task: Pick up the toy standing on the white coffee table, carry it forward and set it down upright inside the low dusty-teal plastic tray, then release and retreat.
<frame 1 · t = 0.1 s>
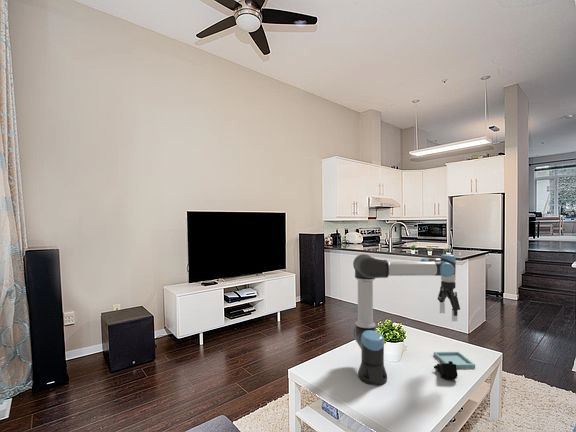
hand: (448, 316, 177), 28 cm above the table, fingers open, 13 cm apart
tray: (453, 361, 180), on the table
toy: (444, 374, 166), on the table
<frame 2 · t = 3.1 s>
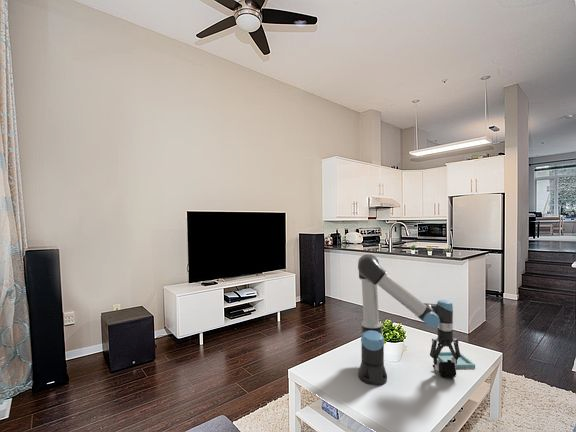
hand: (445, 369, 166), 2 cm above the table, fingers closed on toy, 9 cm apart
toy: (443, 373, 167), on the table, touching gripper
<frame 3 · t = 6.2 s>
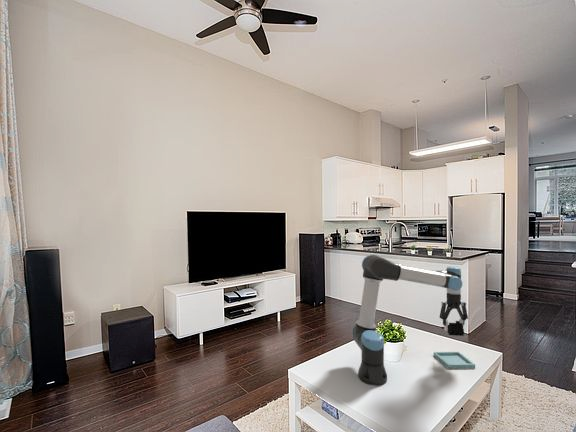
hand: (453, 330, 180), 19 cm above the table, fingers closed on toy, 9 cm apart
toy: (452, 334, 181), point 16 cm above the table, touching gripper
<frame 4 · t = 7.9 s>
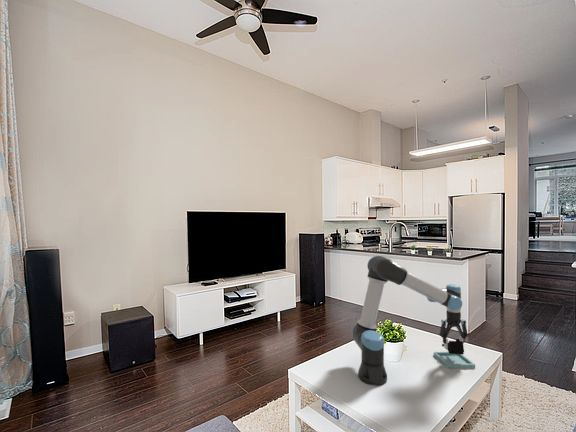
hand: (453, 348, 180), 8 cm above the table, fingers closed on toy, 9 cm apart
toy: (452, 351, 181), point 5 cm above the table, touching gripper
when the fingers open (5 cm above the table, at t = 9.1 s): toy drops 1 cm, resting on tray.
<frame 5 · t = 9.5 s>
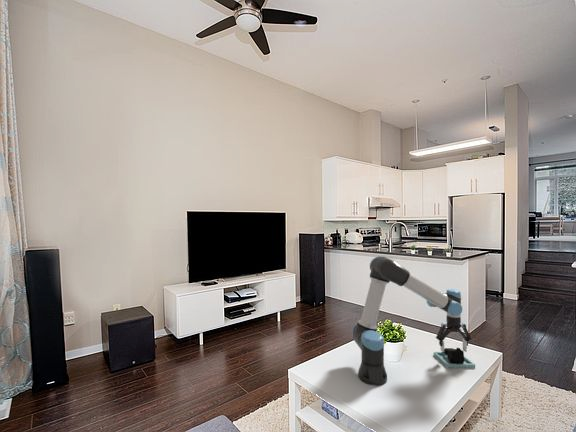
hand: (453, 351, 180), 6 cm above the table, fingers open, 13 cm apart
toy: (451, 358, 181), point 1 cm above the table, touching tray
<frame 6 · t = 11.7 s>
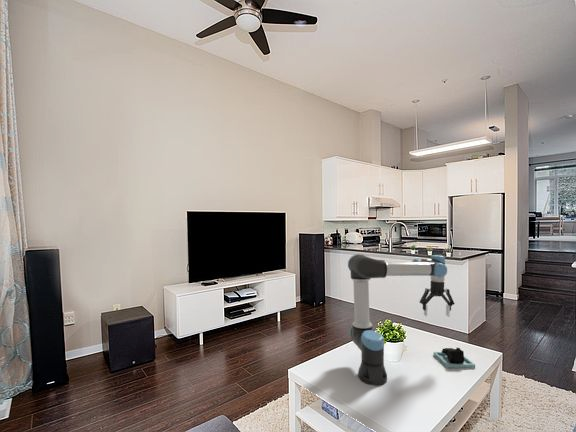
hand: (436, 315, 182), 27 cm above the table, fingers open, 13 cm apart
nothing on the table moved.
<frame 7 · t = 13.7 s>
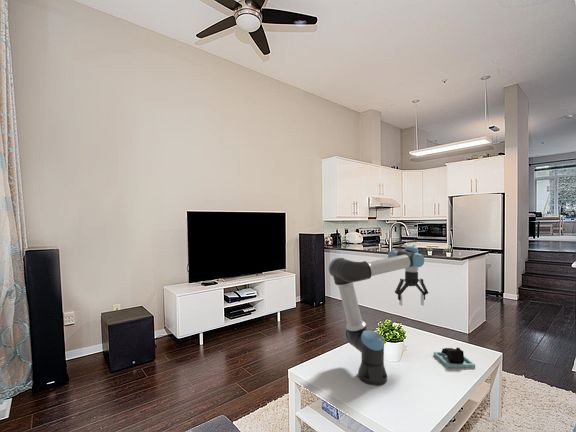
hand: (411, 305, 187), 32 cm above the table, fingers open, 13 cm apart
nothing on the table moved.
at the end: toy inside the target area on the tray (1.7 cm from its centre), point 1.0 cm above the tray's base; toy tilted 10°; the gripper is holding nothing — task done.
